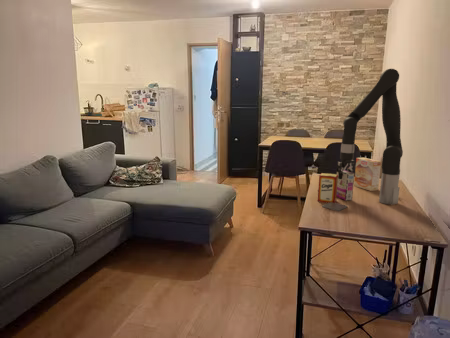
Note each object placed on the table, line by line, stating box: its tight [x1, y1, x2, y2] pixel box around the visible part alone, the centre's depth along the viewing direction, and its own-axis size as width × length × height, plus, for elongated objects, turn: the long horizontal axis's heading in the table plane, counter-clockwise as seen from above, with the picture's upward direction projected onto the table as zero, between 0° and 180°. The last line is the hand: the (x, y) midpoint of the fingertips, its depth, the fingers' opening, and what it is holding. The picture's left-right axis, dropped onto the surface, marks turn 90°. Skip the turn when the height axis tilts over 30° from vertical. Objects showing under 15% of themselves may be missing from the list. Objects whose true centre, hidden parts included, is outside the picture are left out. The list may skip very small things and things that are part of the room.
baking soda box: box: [317, 172, 338, 204], centre depth 204 cm, size 10×6×16 cm
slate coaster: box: [321, 202, 348, 212], centre depth 195 cm, size 10×10×1 cm
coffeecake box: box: [353, 157, 382, 192], centre depth 234 cm, size 15×7×20 cm, turn 25°
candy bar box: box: [336, 169, 355, 202], centre depth 210 cm, size 11×5×16 cm, turn 17°
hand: (344, 178), depth 210 cm, fingers open, 8 cm apart
